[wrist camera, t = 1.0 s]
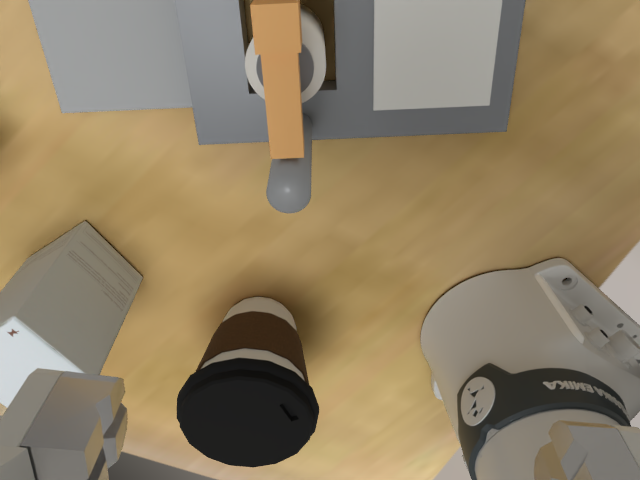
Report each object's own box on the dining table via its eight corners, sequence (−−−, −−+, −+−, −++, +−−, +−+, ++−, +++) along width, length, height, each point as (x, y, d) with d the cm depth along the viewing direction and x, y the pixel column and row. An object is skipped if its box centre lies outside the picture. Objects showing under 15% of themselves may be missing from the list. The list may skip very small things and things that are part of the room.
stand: (523, -82, 34) (625, -79, 22) (496, 122, 40) (564, 202, 29) (173, -65, 34) (103, -53, 23) (205, 135, 41) (164, 218, 30)
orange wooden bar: (299, -5, 27) (298, 2, 24) (308, 143, 31) (307, 161, 29) (255, -3, 27) (250, 5, 24) (269, 145, 31) (266, 163, 29)
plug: (336, 24, 37) (341, 52, 29) (304, 83, 39) (301, 123, 32) (276, -12, 36) (266, 8, 28) (246, 51, 38) (230, 84, 30)
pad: (174, -49, 34) (172, -49, 34) (199, 105, 40) (197, 107, 39) (19, -42, 35) (16, -41, 34) (64, 110, 40) (62, 113, 39)
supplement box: (24, 257, 47) (-63, 361, 36) (86, 217, 45) (13, 315, 34) (86, 313, 50) (23, 424, 39) (147, 278, 48) (97, 385, 37)
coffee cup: (285, 257, 47) (277, 354, 36) (337, 342, 52) (342, 448, 42) (179, 300, 49) (143, 402, 39) (238, 377, 54) (220, 486, 44)
